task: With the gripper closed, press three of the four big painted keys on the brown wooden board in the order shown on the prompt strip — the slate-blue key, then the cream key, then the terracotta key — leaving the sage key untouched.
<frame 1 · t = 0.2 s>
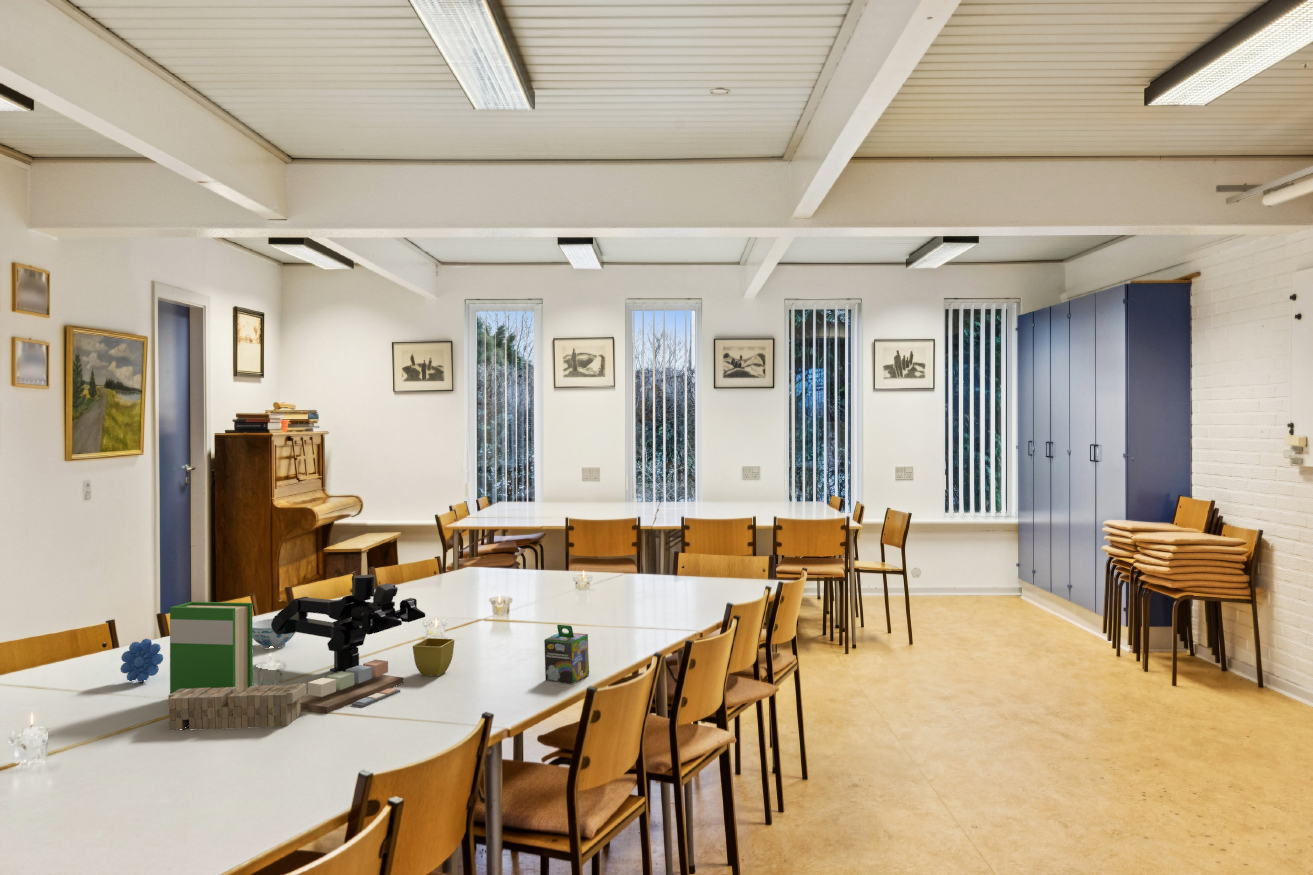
hand: (413, 618, 213), 17 cm above the table, tool horizontal, fingers open, 9 cm apart
key cream: (322, 686, 192), point 4 cm above the table, slide at 0.0 cm
brown wooden board: (350, 694, 200), on the table
prompt strip: (376, 698, 196), on the table
key slate: (358, 673, 203), point 4 cm above the table, slide at 0.0 cm
chinaware: (274, 646, 251), on the table
chalk box: (567, 678, 212), on the table
blue flower ornament: (144, 681, 214), on the table
hardback book: (211, 699, 198), on the table
key sage: (340, 680, 197), point 4 cm above the table, slide at 0.0 cm
key terracotta: (375, 667, 208), point 4 cm above the table, slide at 0.0 cm
block tower: (235, 724, 180), on the table
flower pot: (434, 674, 217), on the table
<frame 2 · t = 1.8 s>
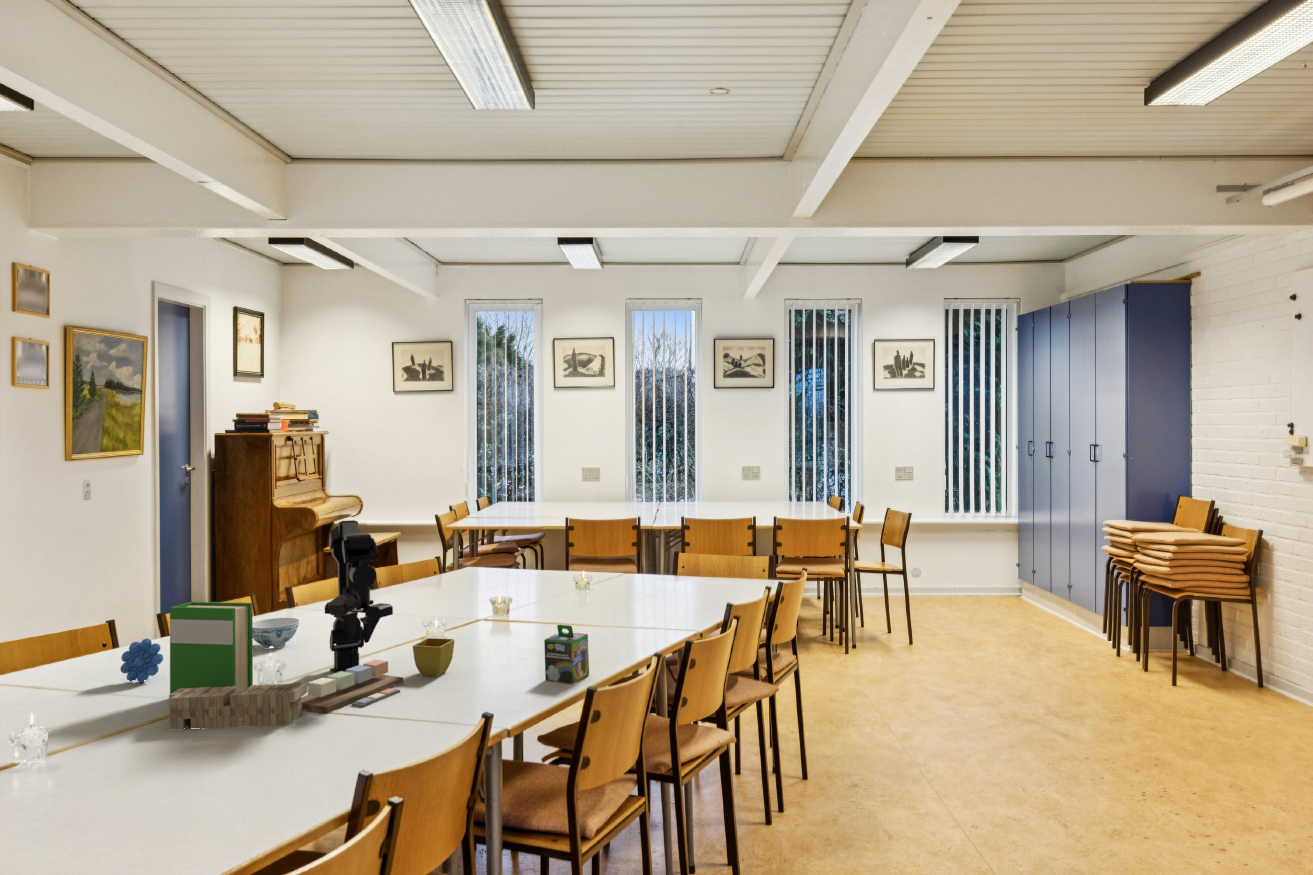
hand: (358, 641, 203), 13 cm above the table, tool pointing down, fingers open, 5 cm apart
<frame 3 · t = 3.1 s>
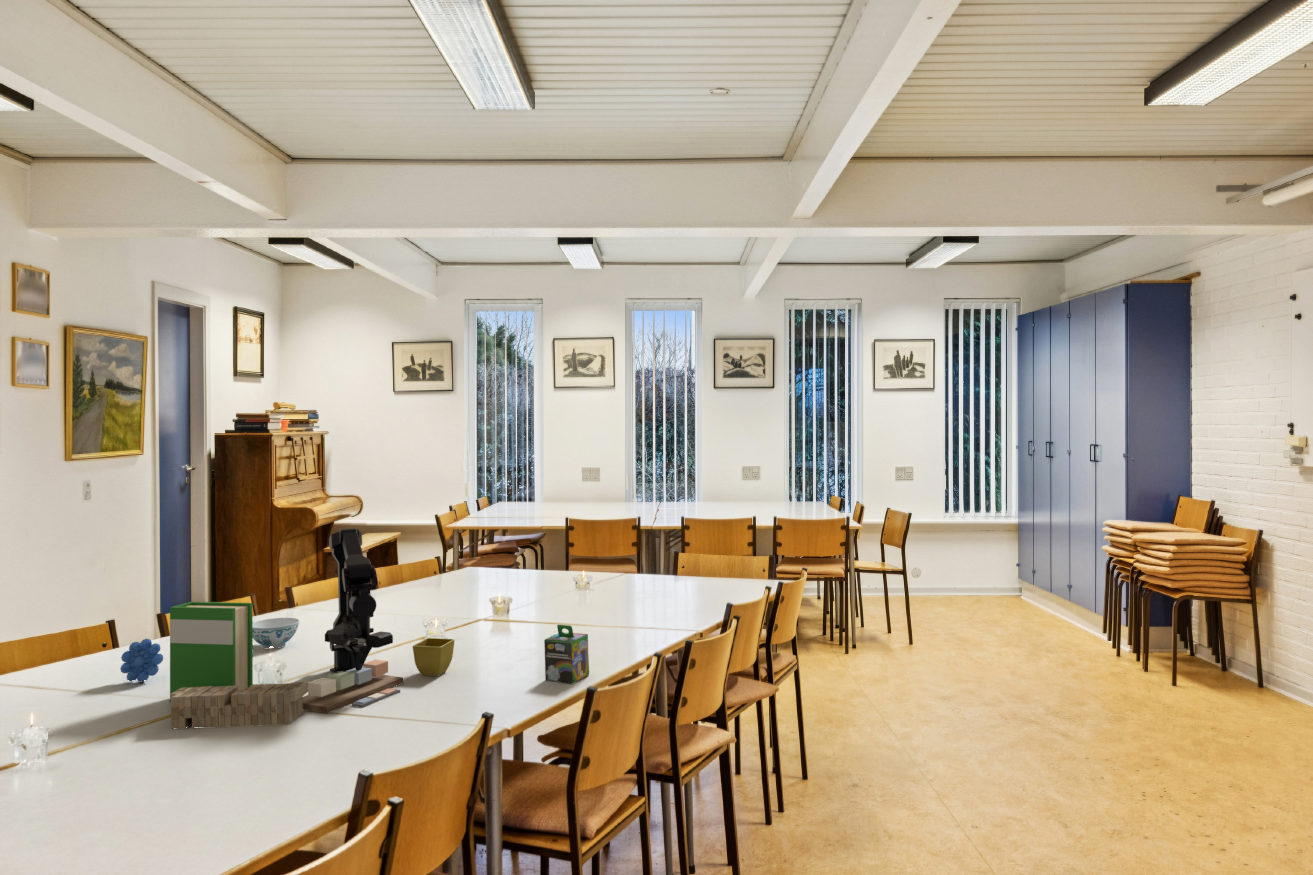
hand: (358, 669, 203), 6 cm above the table, tool pointing down, fingers closed, pressing on key slate
key slate: (358, 675, 203), point 4 cm above the table, slide at 0.4 cm, touching gripper
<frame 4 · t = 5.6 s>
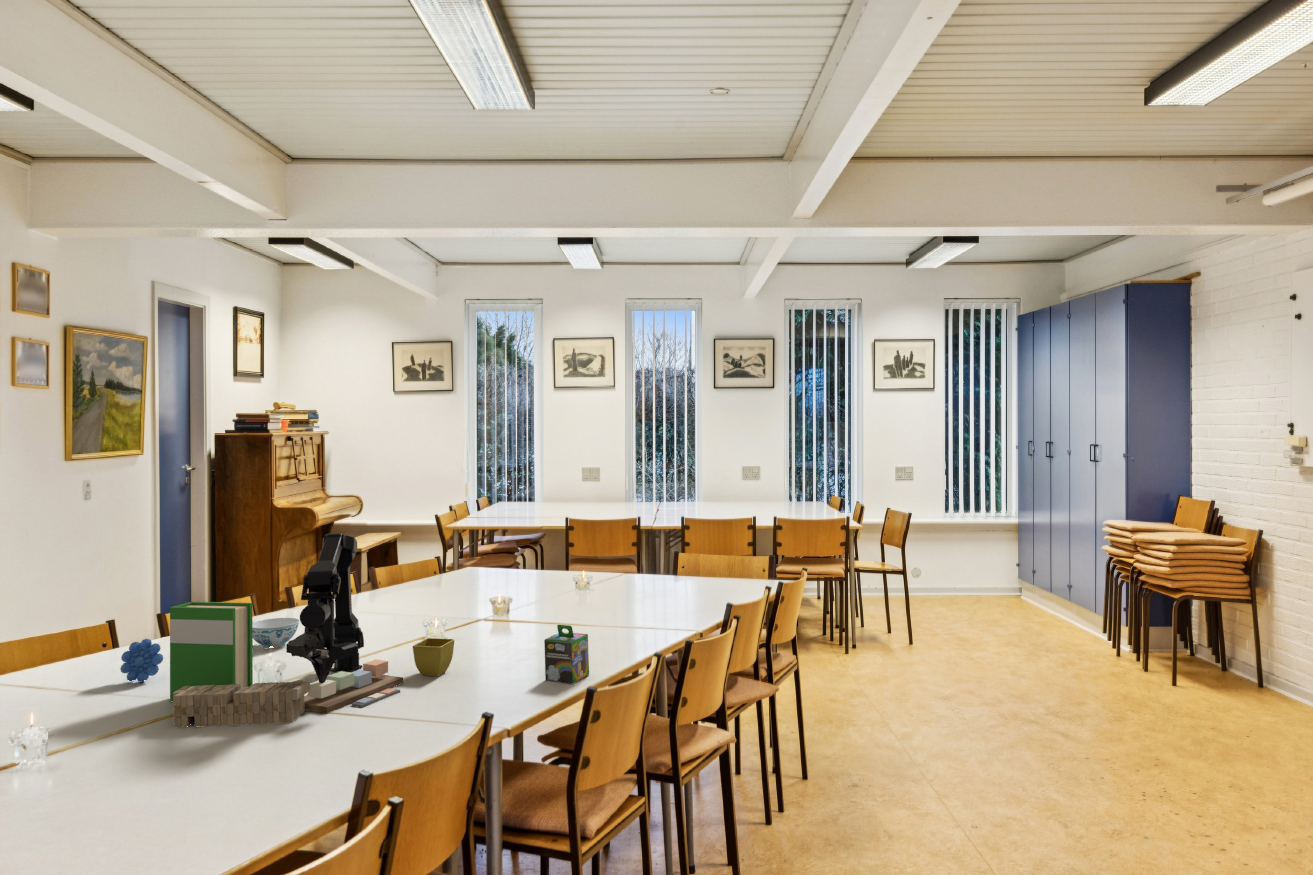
hand: (322, 682, 192), 6 cm above the table, tool pointing down, fingers closed, pressing on key cream
key cream: (322, 688, 192), point 4 cm above the table, slide at 0.4 cm, touching gripper
key slate: (358, 678, 203), point 3 cm above the table, slide at 1.2 cm
block tower: (240, 721, 182), on the table
everything else where it was.
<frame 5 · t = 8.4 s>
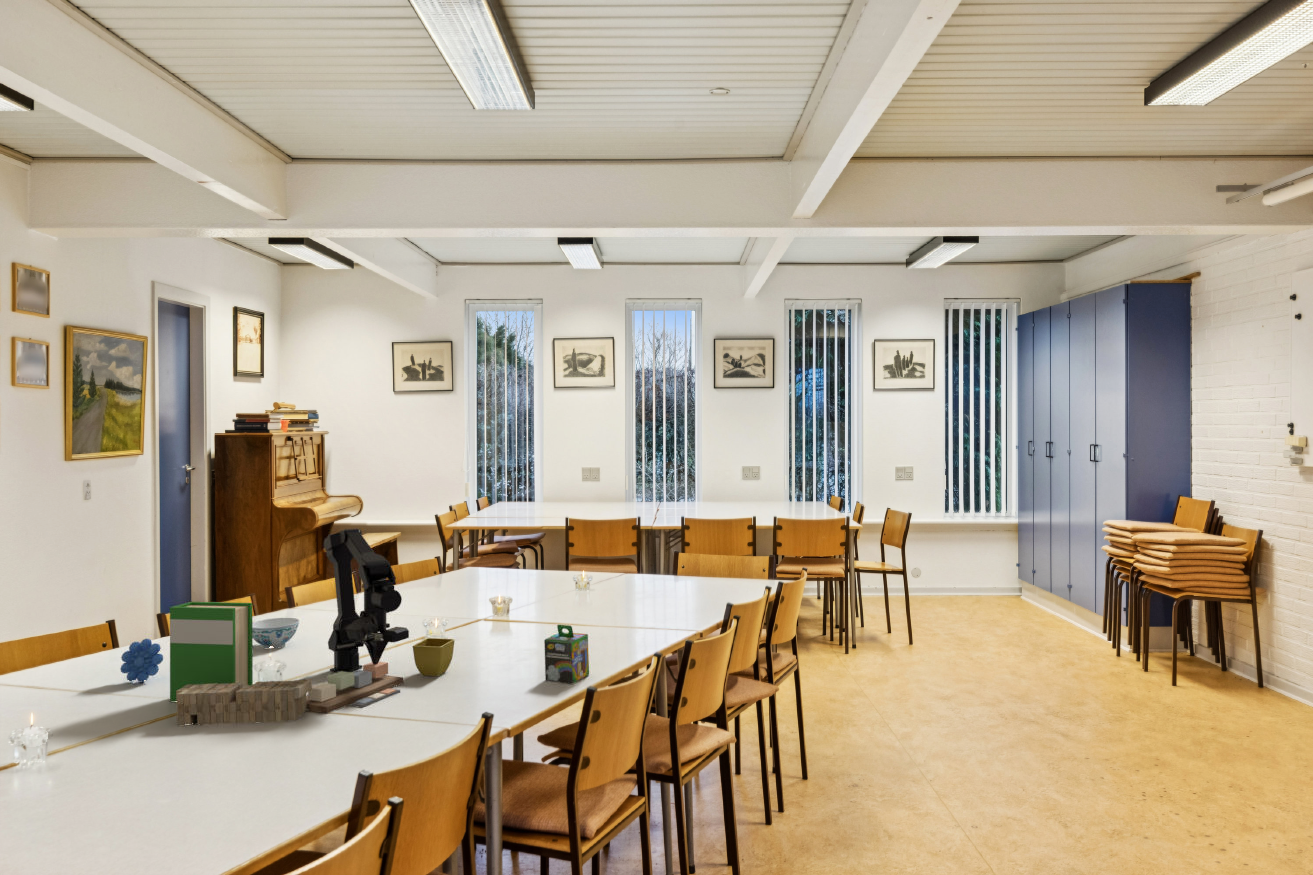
hand: (375, 663, 208), 6 cm above the table, tool pointing down, fingers closed, pressing on key terracotta
key cream: (322, 691, 192), point 3 cm above the table, slide at 1.2 cm
key terracotta: (375, 669, 208), point 4 cm above the table, slide at 0.4 cm, touching gripper
block tower: (242, 719, 183), on the table
everything else where it was.
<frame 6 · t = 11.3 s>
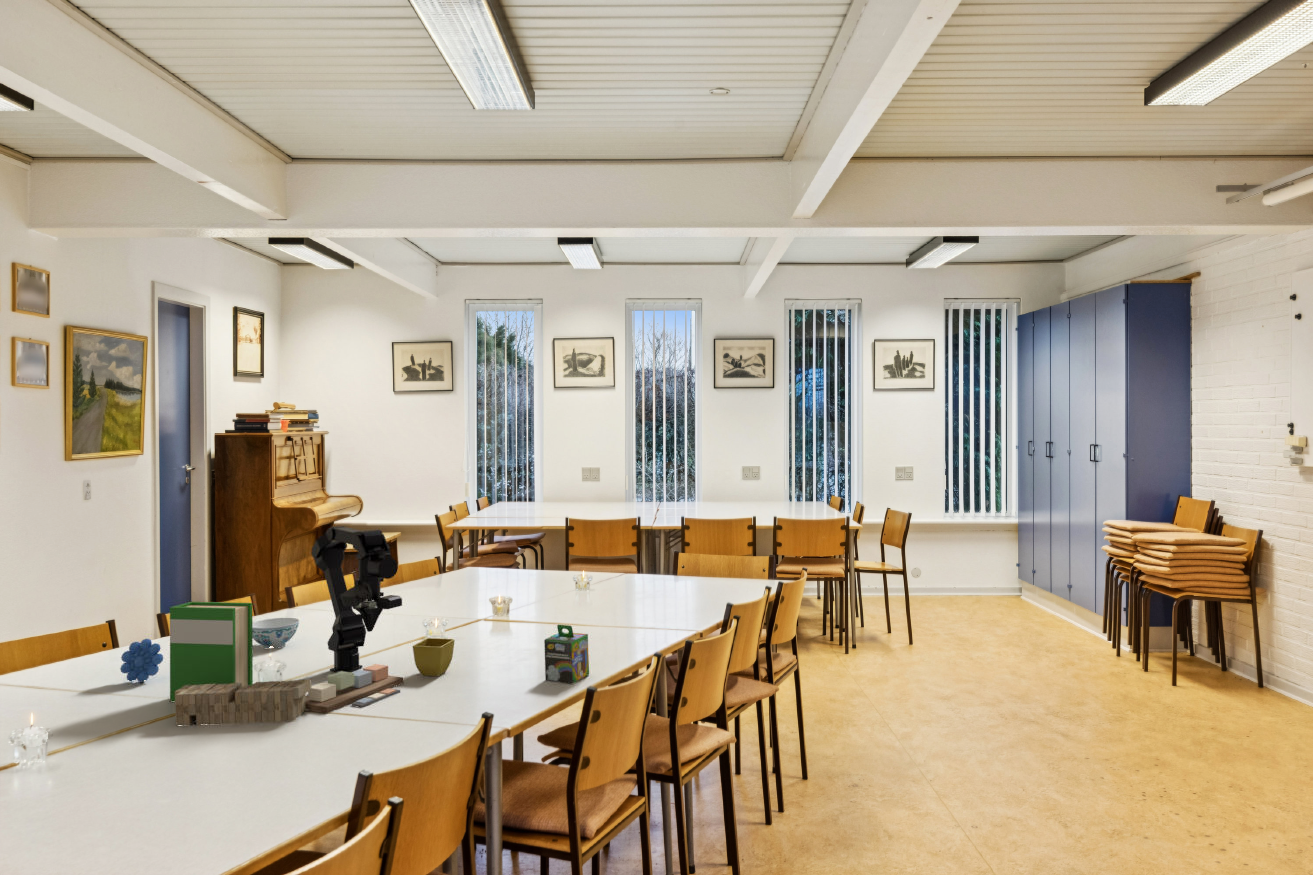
hand: (369, 631, 214), 13 cm above the table, tool pointing down, fingers closed
key terracotta: (375, 672, 208), point 3 cm above the table, slide at 1.3 cm
everything else where it was.
at the end: key slate slide at 1.2 cm; key cream slide at 1.2 cm; key terracotta slide at 1.3 cm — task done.
